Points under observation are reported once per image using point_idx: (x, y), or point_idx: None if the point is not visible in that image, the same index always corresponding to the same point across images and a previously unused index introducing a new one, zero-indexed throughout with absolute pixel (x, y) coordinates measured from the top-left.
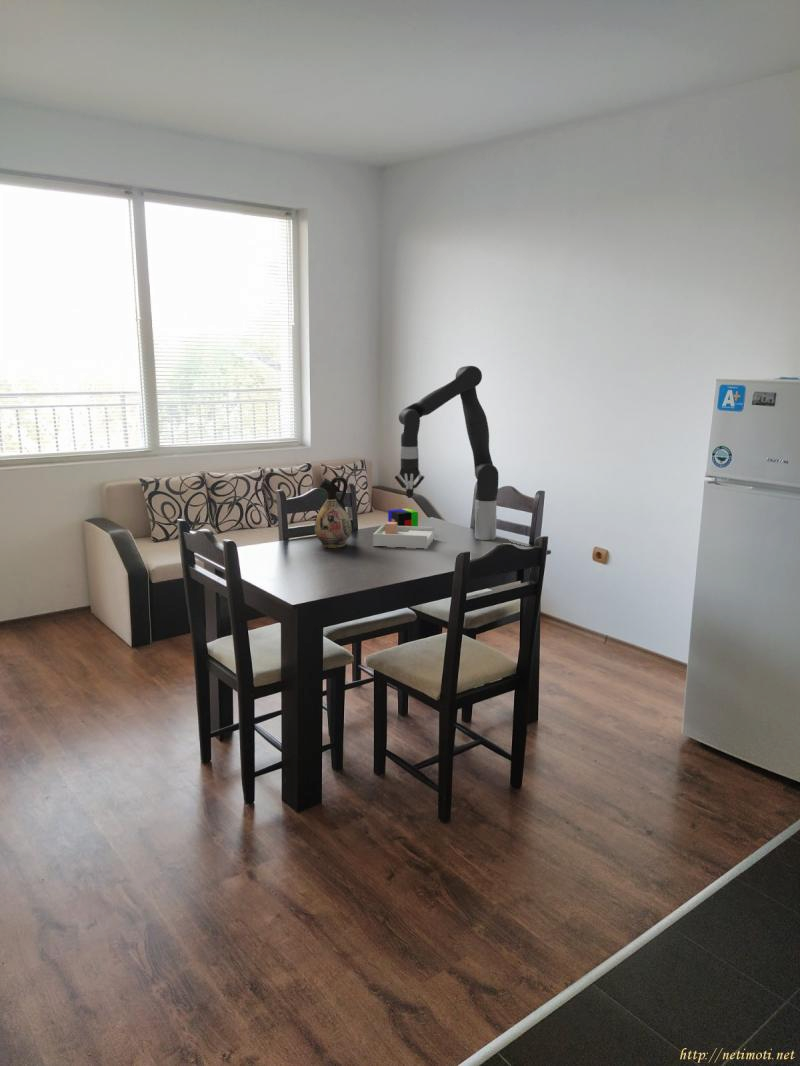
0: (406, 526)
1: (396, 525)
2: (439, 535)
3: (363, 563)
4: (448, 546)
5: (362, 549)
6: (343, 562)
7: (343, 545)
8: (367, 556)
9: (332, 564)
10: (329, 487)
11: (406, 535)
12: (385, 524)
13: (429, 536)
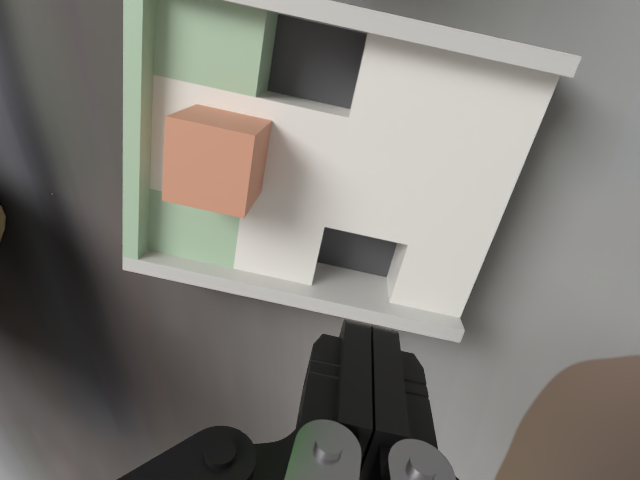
0: (341, 19)
1: (254, 168)
2: None
3: None
4: (583, 249)
5: (117, 289)
6: (98, 460)
7: (2, 232)
8: (167, 397)
9: (69, 476)
10: None
11: (332, 313)
12: (167, 200)
13: (488, 248)
